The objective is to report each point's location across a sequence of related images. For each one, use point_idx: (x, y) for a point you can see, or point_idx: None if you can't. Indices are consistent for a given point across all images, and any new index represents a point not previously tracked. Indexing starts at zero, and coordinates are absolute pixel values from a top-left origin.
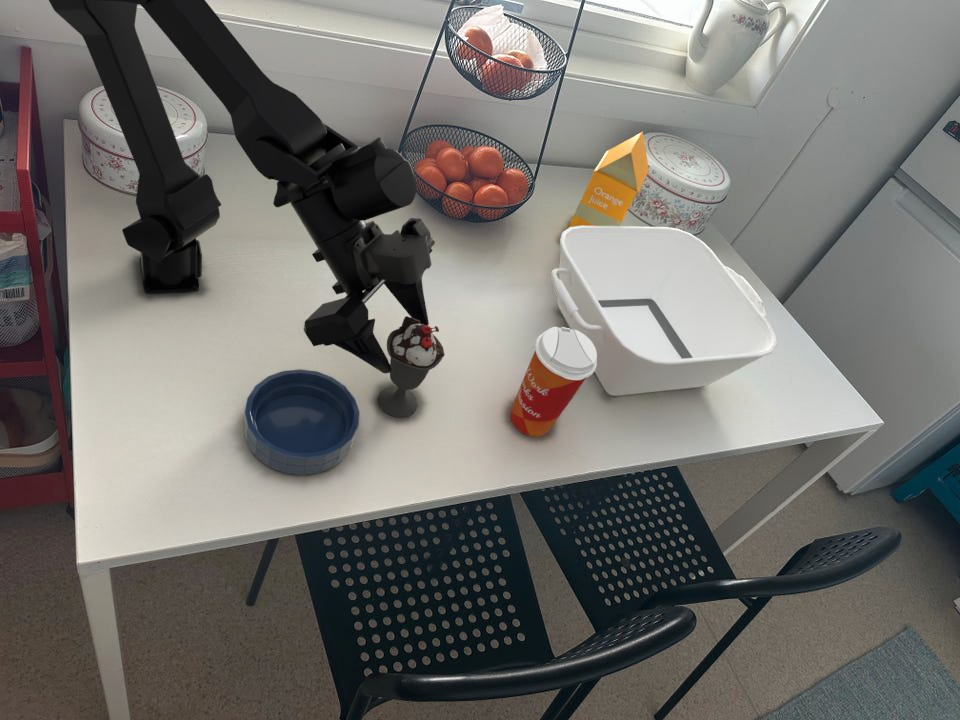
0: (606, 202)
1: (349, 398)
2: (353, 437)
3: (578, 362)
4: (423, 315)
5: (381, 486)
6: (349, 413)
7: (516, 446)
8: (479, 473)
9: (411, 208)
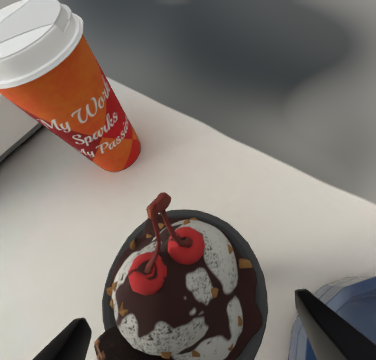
0: None
1: None
2: (356, 280)
3: (42, 3)
4: (60, 351)
5: (329, 211)
6: None
7: (160, 142)
8: (217, 148)
9: None
